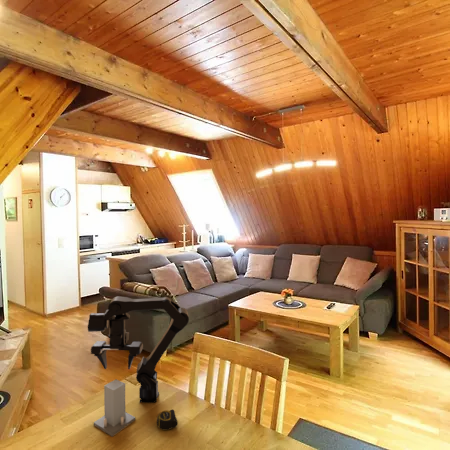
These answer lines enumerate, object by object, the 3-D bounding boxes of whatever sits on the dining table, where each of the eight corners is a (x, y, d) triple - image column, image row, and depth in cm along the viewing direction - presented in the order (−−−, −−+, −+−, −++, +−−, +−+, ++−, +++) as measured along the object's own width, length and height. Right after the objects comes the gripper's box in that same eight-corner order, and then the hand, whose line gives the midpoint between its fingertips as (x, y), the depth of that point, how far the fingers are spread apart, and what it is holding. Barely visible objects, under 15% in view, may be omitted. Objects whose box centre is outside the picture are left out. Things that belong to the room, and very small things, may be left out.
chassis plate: (117, 409, 121) (116, 400, 121) (135, 419, 116) (135, 410, 116) (93, 425, 113) (93, 415, 113) (112, 436, 108) (112, 426, 107)
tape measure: (178, 430, 111) (178, 419, 111) (157, 434, 109) (157, 423, 109) (174, 417, 118) (175, 407, 118) (155, 421, 116) (155, 411, 116)
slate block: (116, 413, 118) (116, 379, 117) (125, 418, 115) (125, 383, 114) (104, 421, 114) (104, 385, 113) (113, 426, 111) (113, 390, 110)
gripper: (146, 322, 133) (146, 359, 134) (100, 321, 133) (101, 358, 134) (139, 333, 122) (139, 373, 123) (89, 332, 122) (90, 372, 123)
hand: (117, 368), depth 126 cm, fingers open, 9 cm apart
